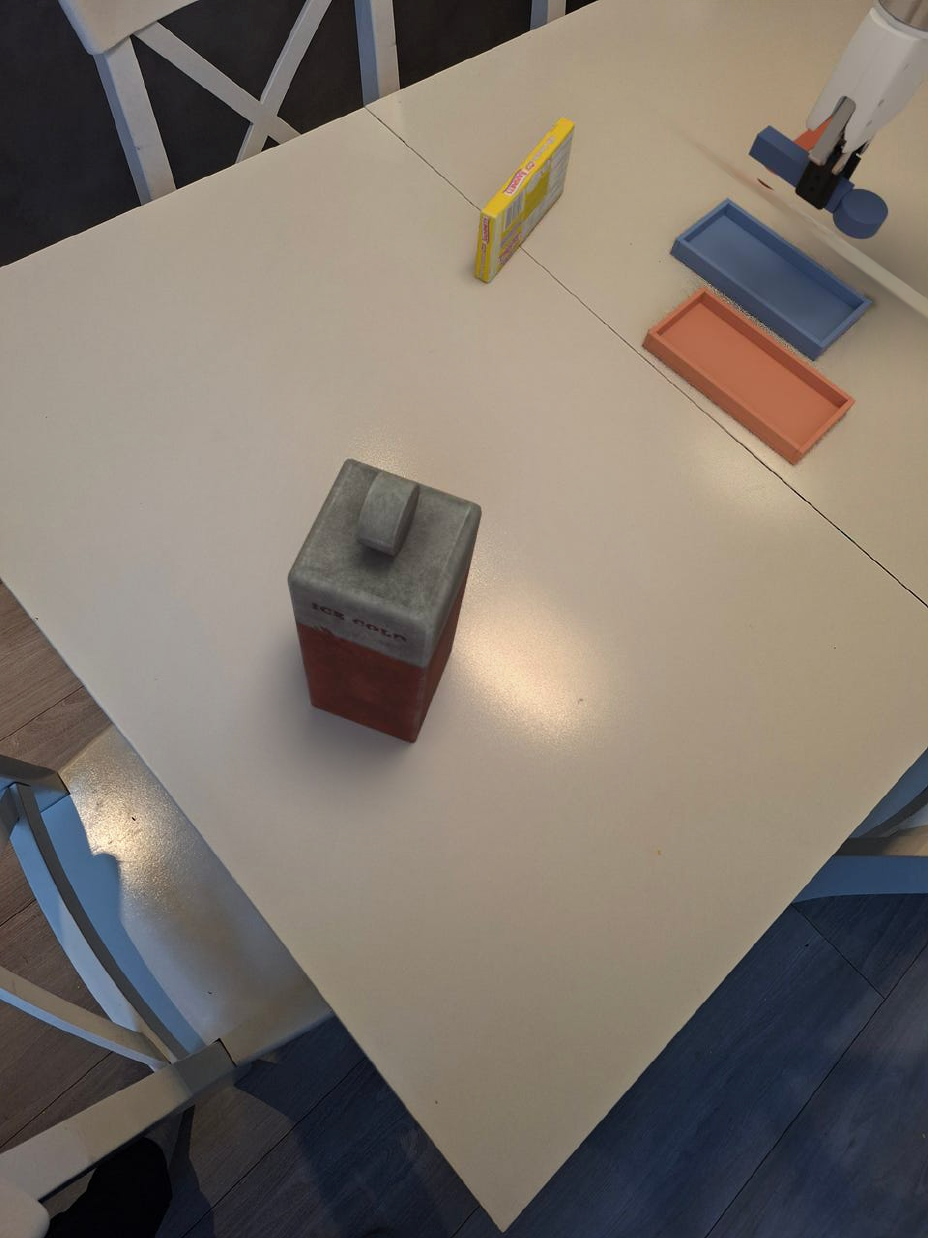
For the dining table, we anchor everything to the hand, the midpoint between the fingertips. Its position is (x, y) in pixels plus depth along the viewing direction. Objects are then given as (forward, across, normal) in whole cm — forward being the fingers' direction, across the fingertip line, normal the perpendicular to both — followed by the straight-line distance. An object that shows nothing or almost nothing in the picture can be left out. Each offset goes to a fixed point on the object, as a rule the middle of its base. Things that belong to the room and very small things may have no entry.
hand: (817, 192), depth 83 cm
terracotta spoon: (+12, -19, -9) cm, 24 cm away
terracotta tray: (+12, +12, +6) cm, 18 cm away
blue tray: (+12, 0, 0) cm, 12 cm away
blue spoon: (0, 0, 0) cm, 0 cm away
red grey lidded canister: (+12, +60, +3) cm, 61 cm away
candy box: (+12, +15, -22) cm, 29 cm away
